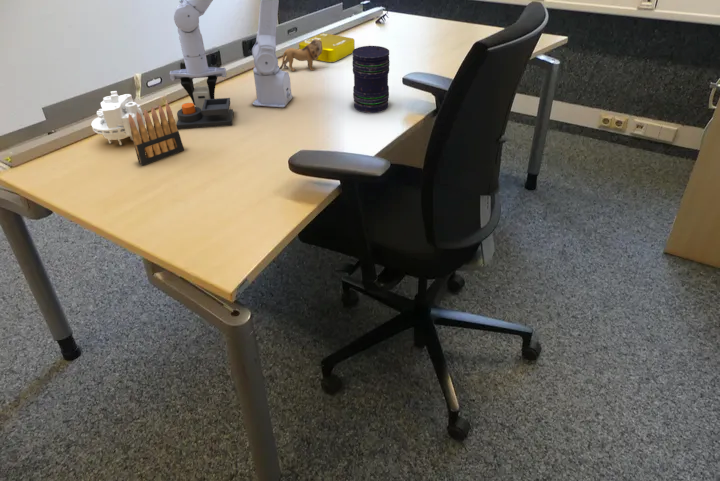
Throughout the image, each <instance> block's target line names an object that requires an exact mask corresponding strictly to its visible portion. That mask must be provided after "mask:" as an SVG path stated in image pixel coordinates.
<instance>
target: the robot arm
mask: <svg viewBox="0 0 720 481" xmlns="http://www.w3.org/2000/svg"><path fill="white" fill-rule="evenodd" d="M213 1H214V0H179V1H178V3H179V4H178V5H177V6H176V7H175V8H174V14H173V21H174V24H175V26H176V27H177V33H178V35H179V36H178V40H179V43H180V49H181V53H182V55H183V56H182V57H183V61H184V65H185V68H182V69H176V70H170V71H169V78H170V81H176V80H180V85H181V87H182V88H183V89H184V90H185V91H186V93H187V94H188V96H189V97H190V99H191V101H192V103H193V104H194V106H195V102H194V97H193V91H194V88H195V85H194V79H203V78H207V79H206V84H207V85H206V86H208V88H209V92H210V99H216V97H215V93H216V86H217V85H216V84H217V81H218V77H222V78H227V75H228V74H227V68H226V67H216V66H215V67H214V66H209V65H208V59H207V55H206V49H205V45H204V40H203V35H202V33H201V30H200V17H201V16H203V15H204V14H205V13H206V12H207V10H208V9H209V7H210V5H211V4H212V2H213ZM279 2H280V0H259V7H258V8H259V10H258V12H259V13H258V22H257V23H258V24H257V32H256V39H255V43H254V45H253V47H252V48H251V54H252V55H251V56H252V58H253V63H254V67H253V69H252V72H253V79H254V84H255V85H254V86H255V93H256V99H255V100H254V101H253V103H252V106H256V107H267V108H268V107H269V108H270V107H271V108H286V106H287V105H288V104H289V103H290V101H291V100H292V99H293V97H294V96H293V95H292V84H291V77H290V73H289V72H288V71H286V70H282V69H280V65H279V59H278V56H277V40H276V39H277V38H276V35H277V34H276V33H277V24H278V13H279V4H280V3H279Z"/></svg>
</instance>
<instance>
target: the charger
mask: <svg viewBox="0 0 720 481" xmlns="http://www.w3.org/2000/svg"><path fill="white" fill-rule="evenodd" d="M193 97H194V102H195V105H194V106H195V107H199V108H200V109H201V110H202V108H203V104H204V100H205V99H210V92H209V88H208V85H200V86H194V91H193Z"/></svg>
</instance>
